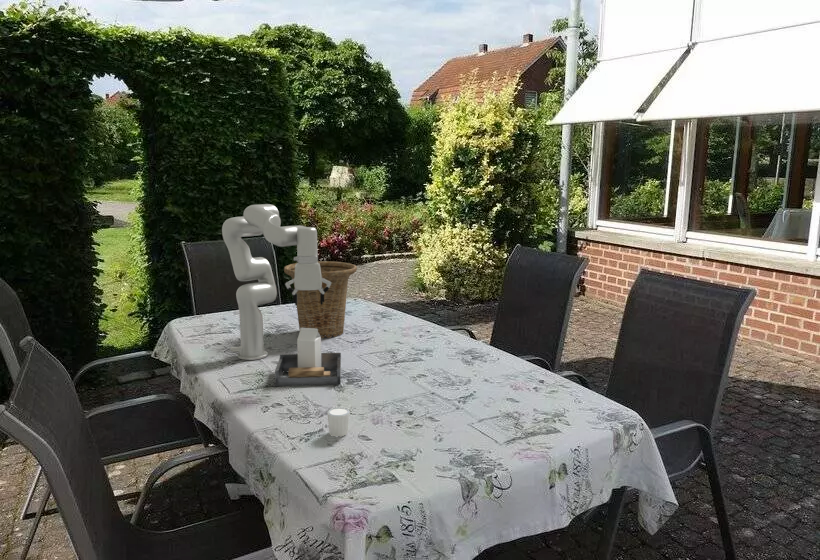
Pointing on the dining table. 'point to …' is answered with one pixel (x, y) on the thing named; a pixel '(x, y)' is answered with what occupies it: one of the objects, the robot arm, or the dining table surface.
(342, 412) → the white cylinder
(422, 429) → the dining table surface
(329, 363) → the dark grey tray
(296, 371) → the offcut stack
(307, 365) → the milk carton
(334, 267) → the wicker basket
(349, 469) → the dining table surface
